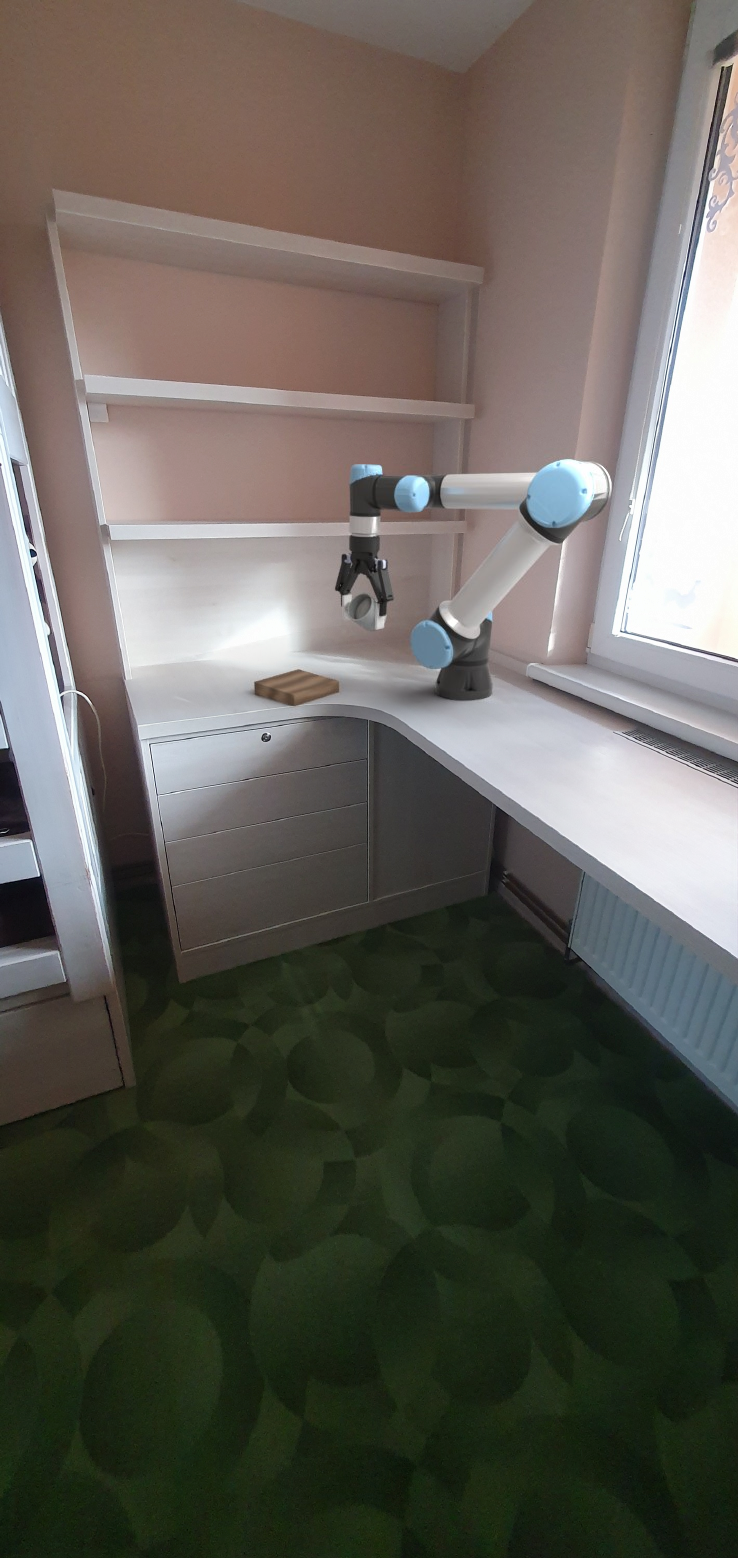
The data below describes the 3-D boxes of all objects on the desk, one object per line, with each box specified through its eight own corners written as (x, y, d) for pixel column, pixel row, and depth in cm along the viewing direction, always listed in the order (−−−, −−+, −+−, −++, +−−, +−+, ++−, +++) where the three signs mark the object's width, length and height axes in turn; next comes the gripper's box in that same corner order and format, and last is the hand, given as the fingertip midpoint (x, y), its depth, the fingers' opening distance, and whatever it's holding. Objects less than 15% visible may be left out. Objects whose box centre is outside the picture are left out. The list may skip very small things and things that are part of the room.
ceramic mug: (375, 638, 168) (394, 615, 166) (356, 626, 162) (376, 602, 160) (355, 616, 174) (373, 593, 172) (336, 603, 167) (355, 579, 165)
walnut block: (339, 695, 176) (338, 680, 174) (295, 710, 165) (294, 695, 164) (299, 682, 186) (298, 669, 184) (255, 696, 175) (254, 681, 173)
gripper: (411, 538, 154) (406, 630, 164) (342, 528, 168) (341, 614, 178) (390, 540, 149) (386, 635, 159) (320, 530, 163) (321, 618, 173)
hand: (362, 624), depth 168 cm, fingers closed on ceramic mug, 11 cm apart
